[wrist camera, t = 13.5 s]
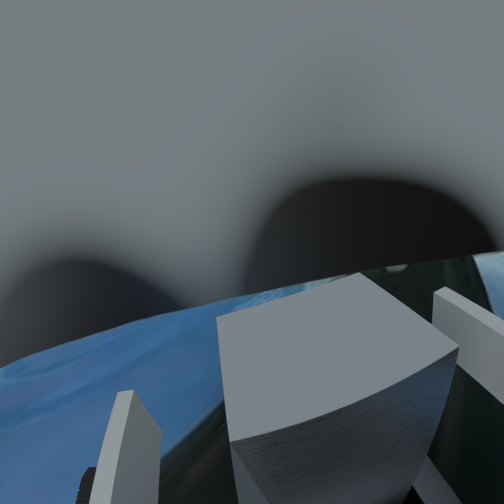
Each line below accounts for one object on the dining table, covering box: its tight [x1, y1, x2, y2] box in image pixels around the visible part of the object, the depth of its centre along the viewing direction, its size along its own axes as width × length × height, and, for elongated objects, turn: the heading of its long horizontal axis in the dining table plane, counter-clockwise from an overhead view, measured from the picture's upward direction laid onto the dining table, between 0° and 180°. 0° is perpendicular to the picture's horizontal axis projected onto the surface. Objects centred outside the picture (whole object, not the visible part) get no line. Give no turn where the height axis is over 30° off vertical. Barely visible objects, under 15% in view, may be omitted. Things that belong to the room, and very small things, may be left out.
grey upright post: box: [216, 273, 459, 504], centre depth 8 cm, size 5×5×12 cm
